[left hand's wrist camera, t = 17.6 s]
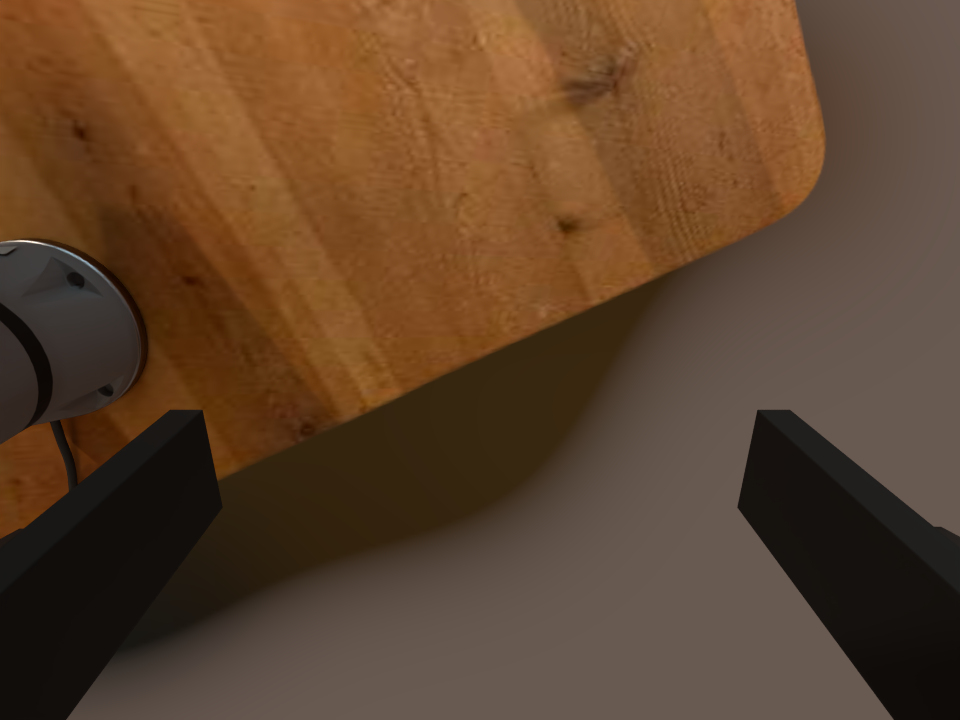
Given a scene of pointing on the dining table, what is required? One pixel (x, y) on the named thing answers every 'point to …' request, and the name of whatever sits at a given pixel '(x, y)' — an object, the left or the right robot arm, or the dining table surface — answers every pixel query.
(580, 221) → the dining table surface
